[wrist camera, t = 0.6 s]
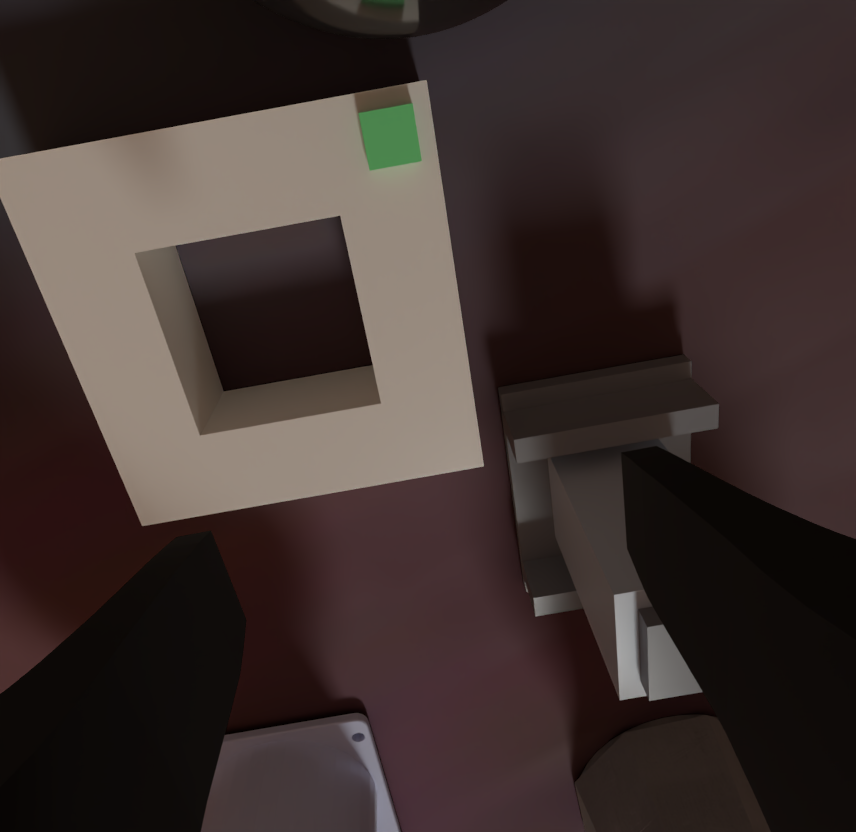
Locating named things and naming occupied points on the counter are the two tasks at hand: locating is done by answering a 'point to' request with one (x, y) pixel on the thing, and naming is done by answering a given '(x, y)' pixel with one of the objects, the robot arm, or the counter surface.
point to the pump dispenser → (380, 15)
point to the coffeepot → (668, 781)
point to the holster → (588, 447)
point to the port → (180, 324)
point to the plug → (613, 575)
